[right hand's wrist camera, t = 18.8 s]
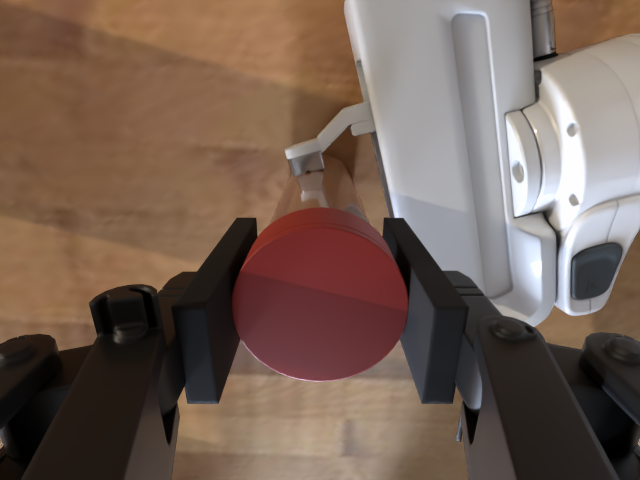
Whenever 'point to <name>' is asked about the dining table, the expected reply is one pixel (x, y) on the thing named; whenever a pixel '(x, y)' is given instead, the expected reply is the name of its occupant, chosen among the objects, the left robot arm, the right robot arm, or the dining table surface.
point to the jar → (321, 191)
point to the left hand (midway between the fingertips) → (304, 213)
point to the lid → (320, 296)
